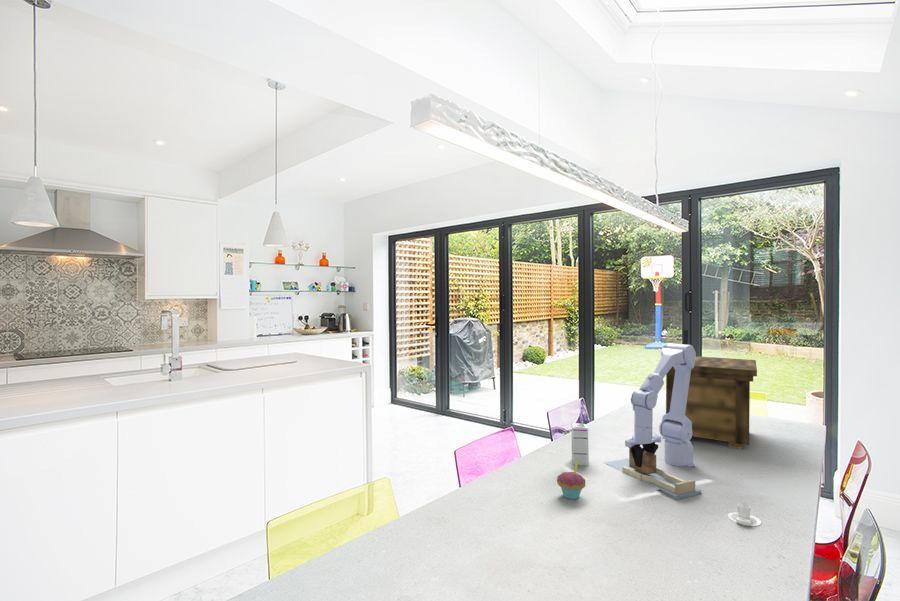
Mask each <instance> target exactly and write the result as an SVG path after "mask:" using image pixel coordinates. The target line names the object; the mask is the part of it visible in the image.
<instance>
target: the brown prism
mask: <svg viewBox="0 0 900 601" xmlns="http://www.w3.org/2000/svg"><path fill="white" fill-rule="evenodd" d="M628 458H629V467H631V468H633V469H636V470H638V471H640V472H643V473H645V474H647V475H648V474H653V473H656V467H657V454H656V453H655V454H652V453H650V452H647V451H644V453H643V456H642V465H641V467H637V466H635V462H634V458H633V455H632V453H631V451H630V449H629V451H628Z"/></svg>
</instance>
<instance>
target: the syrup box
mask: <svg viewBox="0 0 900 601" xmlns="http://www.w3.org/2000/svg"><path fill="white" fill-rule="evenodd" d="M577 459H578V465H577V466H586V467H587V466H589V464H590V462H589V427H588V424H587V423H580V422H577V423H575V422H574V423H571V464H572V465H575V464H576V460H577Z"/></svg>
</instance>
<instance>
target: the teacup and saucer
mask: <svg viewBox="0 0 900 601" xmlns="http://www.w3.org/2000/svg"><path fill="white" fill-rule="evenodd" d="M736 506H737V508H736V509H737V511H732V512H728V514H727V515H726V516H727V518H728V519H729V520H731V521H733V523H737V524H740V525H742V526H748V527H759V526H761V525H762V520H761V519H760V518H758V517H756V516H754V515H752V514H751V508H752V506H751V505H749V504H746V503H737V504H736ZM733 515H738V516H737V517H736V518H735V519H734V517H733ZM750 518H752V519H753V520H755V521H756V523H752V520H750Z"/></svg>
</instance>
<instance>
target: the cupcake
mask: <svg viewBox="0 0 900 601" xmlns="http://www.w3.org/2000/svg"><path fill="white" fill-rule="evenodd" d="M578 466H579V465H578V459H577V460H576V464H575V466H574V471H570V472H569V471H568V472H567V471H564V472H562V473H559V475H558V476H557V478H556V482H557V484H558V486H559V487H560V489H561V491H562V496H563V497H564V498H567V499H569V500H576V499H580V495H581V493H582V490H583V489H584V488H585V487H586V479H585V478H584V477H583V475H581V474H579V473H577V472H578V471H577V470H578Z"/></svg>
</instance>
